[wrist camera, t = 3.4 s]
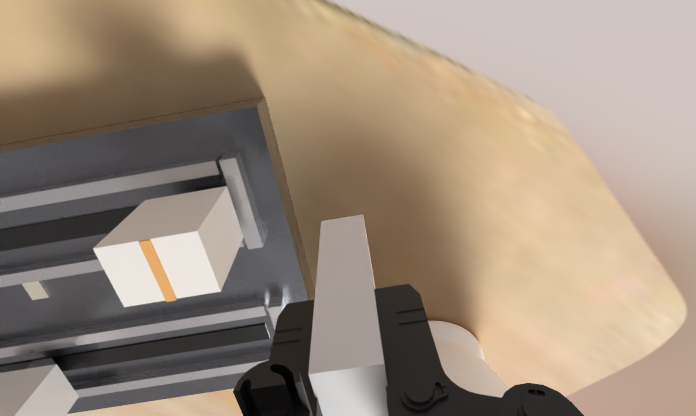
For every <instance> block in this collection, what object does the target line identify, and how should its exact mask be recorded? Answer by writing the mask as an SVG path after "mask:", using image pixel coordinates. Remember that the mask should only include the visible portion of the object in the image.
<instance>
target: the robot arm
mask: <svg viewBox="0 0 696 416" xmlns="http://www.w3.org/2000/svg"><path fill="white" fill-rule="evenodd" d="M272 345H273V346H272V347H271V352H270V357H269V360H268V361H265V362H262V363H259V364H257V365H256V366H254V367H252V368H251V369H249V370H248V371H247V372H246V373H245V374H244V375H243V376H242V377H241V378H240V379H239V380H238V382H237V384H236V386H235V389H234V391H233V393H234V395H235V397H236V400H237V402H238V404H239V407H240V409H241V411H242V414H243V416H584V415H583V414H582V413H581V412H580V411H579V410H578V409H577V408H576V407H575V406H574V405H573V404H572V402H570V401H569V400H568V399H567V398H565V397H564V396H563V395H562V394H561V393H559V392H558V391H555V390H553V389H551V388H549V387H546V386H544V385H539V384H532V383H526V384H520V385H515V386H513V387H512V388H510V389H509V390H507V391H506V392H505V393H504V395H503V397H502V398H500V397H494V396H488V395H482V394H477V393H473V392H469V391H467V390H465V389H463V388H461V387H459V386H458V385H456V384H455V383H454V382H452V381H451V380H450V379H449V377H448V376H447V375H446V374H445V372H444V370H443V368H442V365H441V362H440V359H439V355H438V352H437V349H436V346H435V342H434V339H433V336H432V333H431V329H430V326H429V323H428V320H427V316H426V313H425V311H424V307H423V303H422V300H421V297H420V294H419V293H418V292H417V291H416V290H415V289H414V288H413V287H411V286H410V285H409V284H405V285H399V286H392V287H386V288H379V289H375V282H374V275H373V270H372V264H371V258H370V252H369V246H368V240H367V234H366V228H365V222H364V216H363V214H362V215H356V216H350V217H343V218H337V219H331V220H325V221H321V229H320V241H319V253H318V265H317V277H316V289H315V299H314V300H307V301H301V302H294V303H288V304H287V305H286V306H285V307H284V309H283V310H282V312H281V313H280V314H279V316H278V318H277V323H276V328H275V334H274V337H273V342H272Z"/></svg>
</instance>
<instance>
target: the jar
mask: <svg viewBox="0 0 696 416" xmlns="http://www.w3.org/2000/svg"><path fill="white" fill-rule="evenodd" d="M428 323H429V326H430V329H431V333H432V336H433V339H434V342H435V346H436V349H437V352H438V355H439V359H440V362H441V365H442V368H443V370H444V372H445V374H446V375H447V376H448V377H449V379H450V380H451V381H452V382H454V383H455V384H456V385H458V386H459V387H461V388H463V389H465V390H467V391H469V392H473V393H477V394H482V395H488V396H494V397H500V398H502V397H503V395H504V393H505V392H506V391H507V390H509V387H508V386H507V385H506V383H505V382H504V381H503V379H502V378H501V377H500V376H499V375H498V374H497V372H496V371H495V370H494V369H493V368H492V367H491V366H490V365H489V364H487V363H486V362H485V361H484V355H483V351H482V348H481V345H480V344H479V342H478V340H477V339H476V338H475V337H474V336H473V335H472V334H471V333H470V332H469V331H467V330H466V329H464V328H462V327H460V326H458V325H455V324H452V323H449V322H443V321H428Z"/></svg>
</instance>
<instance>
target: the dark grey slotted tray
mask: <svg viewBox="0 0 696 416" xmlns="http://www.w3.org/2000/svg"><path fill="white" fill-rule="evenodd" d="M224 186H227V188H228V191H229V194H230V197H231V200H232V203H233V206H234V209H235V212H236V215H237V218H238V221H239V224H240V227H241V230H242V233H243V236H244V237H243V240H242V242H241V244H240V247H239V249H238V252H237V254H236V256H235V259H234V261H233V264H232V266H231V268H230V271H229V273H228V276H227V278H226V280H225V283H224V285H223V288H222V290H221V292H215V293H209V294H203V295H197V296H190V297H184V298H178V299H177V300H176V301H170V302H166V301H160V302H154V303H147V304H141V305H135V306H129V307H124V306H123V304H122V302H121V301H120V299H119V297H118V295H117V293H116V291H115V289H114V287H113V286H112V284H111V282H110V280H109V278H108V276H107V274H106V273H105V271H104V269H103V267H102V265H101V263H100V261H99V259H98V258H97V256H96V254H95V252H94V250H93V248H94V247H95V246H96V245H97V244H98V243H99V242H100V241H102V240H103V239H104V238H105V237H106V236H107V235H108V234H109V233H110V232H111V231H112V230H113V229H114V228H116V227H117V226H118V225H119V224H120V223H121V222H122V221H123V220H124V219H125V218H126V217H127V216H128V215H130V214H131V213H132V212H133V211H134V210H135V209H136V208H137V207H138V206H139V205H140V204H141V203H142V202H143V201H145V200H149V199H155V198H160V197H166V196H172V195H178V194H184V193H189V192H195V191H201V190H207V189H212V188H218V187H224ZM314 299H315V291H314V288H313V284H312V280H311V276H310V272H309V268H308V264H307V260H306V256H305V252H304V248H303V244H302V240H301V237H300V233H299V229H298V225H297V221H296V217H295V213H294V209H293V205H292V201H291V197H290V193H289V190H288V186H287V182H286V178H285V174H284V170H283V166H282V162H281V158H280V154H279V150H278V146H277V142H276V139H275V135H274V131H273V127H272V123H271V119H270V115H269V111H268V107H267V103H266V99H265V98H259V99H254V100H248V101H243V102H237V103H232V104H226V105H221V106H215V107H210V108H204V109H199V110H193V111H187V112H182V113H176V114H171V115H165V116H160V117H154V118H149V119H143V120H138V121H132V122H126V123H121V124H115V125H110V126H104V127H99V128H93V129H88V130H82V131H77V132H71V133H66V134H60V135H54V136H49V137H43V138H38V139H32V140H27V141H21V142H16V143H10V144H5V145H0V373H3V372H10V371H16V370H22V369H26V368H27V367H28V366H29V365H30V363H31V362H32V361H35V360H41V359H47V358H52V359H53V361H54V362H55V364H57V365H58V367H59V368H60V370H61V371H62V373H63V374H64V376H65V377H66V378H67V380H68V381H69V383H70V384H71V386H72V387H73V389H74V390H75V391H76V393H77V394H78V396H79V397H78V399H77V400H76V402H75V403H74V404H73V406H72V407H71V409H70V410H69V412H68V413H67V414H69V413H76V412H82V411H89V410H95V409H102V408H109V407H115V406H122V405H128V404H135V403H141V402H148V401H154V400H161V399H167V398H174V397H180V396H187V395H193V394H200V393H206V392H213V391H219V390H226V389H232V388H235V386H236V384H237V382H238V380H239V379H240V378H241V377H242V376H243V375H244V374H245V373H246V372H247V371H248V370H249V369H251V368H252V367H254V366H256V365H257V364H259V363H262V362H265V361H268V360H269V357H270V352H271V347H272V346H273V345H272V342H273V337H274V334H275V328H276V323H277V318H278V316H279V314H280V313H281V312H282V310H283V309H284V307H285V306H286V305H287V304H288V303H294V302H301V301H307V300H314Z"/></svg>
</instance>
